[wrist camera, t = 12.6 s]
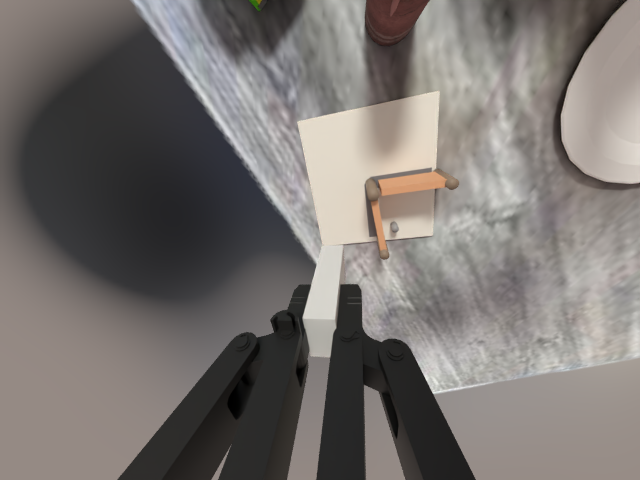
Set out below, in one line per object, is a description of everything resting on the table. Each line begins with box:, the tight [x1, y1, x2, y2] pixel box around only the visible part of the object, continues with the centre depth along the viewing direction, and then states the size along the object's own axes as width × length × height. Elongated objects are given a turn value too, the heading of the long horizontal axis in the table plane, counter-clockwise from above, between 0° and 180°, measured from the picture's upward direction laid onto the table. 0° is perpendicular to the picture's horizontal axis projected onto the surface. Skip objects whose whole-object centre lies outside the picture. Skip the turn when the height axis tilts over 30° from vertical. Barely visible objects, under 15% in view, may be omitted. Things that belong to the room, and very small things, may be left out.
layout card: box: [298, 91, 439, 246], centre depth 36 cm, size 20×22×2 cm
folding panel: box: [371, 199, 389, 260], centre depth 37 cm, size 10×1×7 cm, turn 16°
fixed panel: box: [365, 169, 459, 201], centre depth 33 cm, size 12×2×7 cm, turn 101°
